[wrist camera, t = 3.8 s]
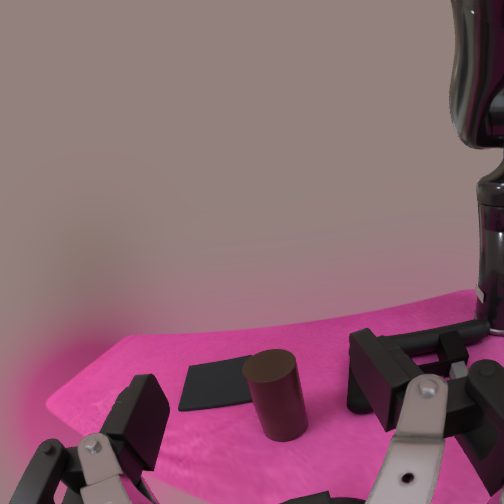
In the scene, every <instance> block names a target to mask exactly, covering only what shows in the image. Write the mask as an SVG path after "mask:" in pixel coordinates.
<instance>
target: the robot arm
mask: <svg viewBox="0 0 504 504" xmlns="http://www.w3.org/2000/svg"><path fill="white" fill-rule="evenodd" d="M451 3H452V10H453V18H454V28H455V55H454V64H453V71H452V77H451V84H450V93H449V94H450V96H449V104H450V114H451V119H452V123H453V127H454V129H455V131H456V134H457V135H458V137H459V138H460V140H461V141H462V142H463V143H464V144H465V145H466V146H468V147H470V148H475V149H503V160H502V162H501V164H500V165H499V166H498V167H497V168H496V169H495V170H494V171H493V172H491V173H490V174H488V175H486V176H484V177H482V178H481V179H479V180H478V182H477V185H476V191H477V200H478V212H479V229H480V230H479V231H480V262H479V282H478V286H477V285H476V292H475V293H476V295H477V303H476V310H475V315H474V319H484V318H487V319H488V321H489V324H490V334H493V335H500V336H504V0H451ZM349 343H350V358H351V368H352V372H353V375H354V377H355V379H356V381H357V383H358V384H359V386H360V388H361V389H362V391H363V393H364V395H365V396H366V398H367V400H368V402H369V403H370V405H371V407H372V409H373V410H374V412H375V414H376V416H377V417H378V419H379V421H380V423H381V425H382V426H383V428H384V430H385V432H388V431H391V430H393V429H396V431H395V434H394V435H393V437H392V439H391V442H390V445H389V448H388V450H387V453H386V456H385V459H384V461H383V464H382V466H381V469H380V471H379V474H378V476H377V478H376V481H375V483H374V485H373V487H372V490H371V492H370V494H369V496H368V498H367V500H362V499H357V498H348V497H336V498H330V494H329V491H325V492H321V493H317V494H313V495H309V496H304V497H300V498H295V499H290V500H288V501H285V502H283V503H280V504H431V501H432V497H433V494H434V491H435V487H436V483H437V479H438V475H439V471H440V467H441V462H442V458H443V452H444V447H445V438H447V437H451V436H454V437H455V438H456V440H457V441H458V443H459V444H460V446H461V447H462V449H463V451H464V452H465V454H466V455H467V457H468V459H469V460H470V462H471V464H472V465H473V467H474V468H475V470H476V472H477V474H478V475H479V477H480V479H481V480H482V482H483V484H484V486H485V487H486V489H487V491H488V493H489V495H490V496H491V498H490V499H489V501H488V503H487V504H504V368H503V367H502V366H501V365H500V364H499V363H497V362H496V361H493V360H489V359H483V360H479V361H477V362H475V363H473V364H472V365H471V367H470V368H469V371H468V375H467V376H464V377H461V378H457V379H453V380H449V381H445V379H443V378H442V377H440V376H438V375H435V374H425V373H424V372H423V371H422V370H421V369H420V368H419V367H418V366H417V365H416V364H415V362H414V361H413V360H412V359H411V358H410V357H409V356H408V355H407V354H405V352H404V351H403V350H402V349H401V348H400V347H399V346H398V344H397V343H396V342H395V341H394V340H392V339H390V338H388V337H385V336H383V335H382V336H379V337H376V336H375V335H374V334H373V333H372V331H371V330H370V329H369V328H365V329H362V330H359V331H356V332H353V333H350V335H349ZM169 413H170V407H169V402H168V400H167V398H166V396H165V394H164V392H163V391H162V389H161V387H160V385H159V383H158V381H157V379H156V377H155V376H154V375H153V374H143V375H135V376H134V378H133V380H132V381H131V383H130V385H129V387H126V388H125V389H124V390H123V391H122V392H121V393H120V394H119V396H118V397H117V399H116V401H115V404H114V405H113V407H112V411H110V413H109V414H108V416H107V418H106V420H105V422H104V424H103V426H102V428H101V430H100V432H99V433H93V434H90V435H88V436H86V437H84V438H83V439H82V440H81V441H80V443H79V445H78V446H77V447H69V448H65V447H64V446H63V444H62V443H61V442H60V441H59V440H57V439H48V440H46V441H44V442H42V443H41V444H40V445H39V447H38V449H37V450H36V452H35V454H34V456H33V458H32V459H31V461H30V463H29V465H28V467H27V468H26V470H25V472H24V474H23V476H22V478H21V480H20V482H19V484H18V486H17V488H16V490H15V492H14V494H13V496H12V498H11V500H10V503H9V504H55V502H54V498H53V497H54V494H55V491H56V489H57V486H58V484H59V482H60V480H61V481H62V482H63V483H64V484H65V485H66V486H67V487H68V488H67V491H66V493H65V496H64V499H63V502H62V504H159V502H158V501H157V499H156V498H155V496H154V494H153V493H152V491H151V490H150V488H149V486H148V485H147V483H146V481H145V479H144V478H143V477H142V476H141V474H142V470H145V471H154V468H155V464H156V461H157V457H158V453H159V449H160V446H161V442H162V438H163V435H164V431H165V428H166V424H167V421H168V417H169Z"/></svg>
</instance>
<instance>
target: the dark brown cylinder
mask: <svg viewBox="0 0 504 504" xmlns="http://www.w3.org/2000/svg"><path fill="white" fill-rule="evenodd" d="M242 371H243V375H244V378H245V381H246V384H247V387H248V389H249V392H250V395H251V398H252V401H253V403H254V406H255V409H256V412H257V414H258V417H259V420H260V422H261V425H262V428H263V430H264V433H265V435H266V436H267V437H268V438H270V439H271V440H274V441H278V442H286V441H291V440H294V439H296V438H298V437H299V436H301V435H302V434H303V433H304V432H305V430H306V429H307V426H308V419H307V414H306V408H305V403H304V398H303V393H302V388H301V383H300V378H299V373H298V368H297V363H296V358H295V356H294V355H293V354H292V353H291V352H289V351H286V350H282V349H271V350H266V351H262V352H260V353H257V354H255V355H253V356H252V357H250V358H249V359H248V360H247V361H246V362H245V364H244V365H243V369H242Z"/></svg>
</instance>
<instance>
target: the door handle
mask: <svg viewBox="0 0 504 504" xmlns="http://www.w3.org/2000/svg"><path fill="white" fill-rule="evenodd" d="M489 333H490V324H489V321H488V319H487V318H484V319H474V320H470V321H466V322H462V323H457V324H453V325H448V326H443V327H439V328H433V329H428V330H423V331H417V332H411V333H405V334H399V335H392V336H385V337H388V338H390V339H392V340H394V341H395V342H396V343H397V344H398V346H399V347H400V348H401V349H402V350H403V351H404V352H405V354H407V355H408V356H411V355H417V354H423V353H428V352H433V351H436V352H437V355H438V358H439V361H438V362H433V363H428V364H423V365H417V366H418V367H419V368H420V369H421V370H422V371H423V372H424V373H425V374H435V375H438V376H443V375H444V378H445V377H449V376H450V378H451V380H453V379H457V378H461V377H464V376H467V375H468V371H467V368H466V365H467V362H468V358H469V354H468V352H467V349H466V347H465V344H468V343H472V342H476V341H480V340H482V339H483V338H484V337H487V336H488V335H489ZM349 356H350V348H349ZM347 408H348V409H349V410H350V411H352V412H354V413H358V414H365V413H369V412H372V411H374V410H373V409H372V407H371V405H370V403H369V402H368V400H367V398H366V396H365V395H364V393H363V391H362V389H361V388H360V386H359V384H358V383H357V381H356V379H355V377H354V375H353V372H352V368H351V358H350V364H349V381H348V394H347Z"/></svg>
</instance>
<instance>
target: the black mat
mask: <svg viewBox="0 0 504 504" xmlns="http://www.w3.org/2000/svg"><path fill="white" fill-rule="evenodd" d="M250 357H252V355H248V356H244V357H239V358H234V359H228V360H223V361H217V362H212V363H206V364H199V365H193V366H189V369H188V373H187V377H186V380H185V384H184V388H183V392H182V396H181V400H180V403H179V407H178V410H179V411H190V410H200V409H209V408H217V407H224V406H231V405H237V404H243V403H249V402H253V401H252V398H251V395H250V392H249V389H248V387H247V384H246V381H245V378H244V375H243V371H242V369H243V365H244V364H245V362H246V361H247V360H248V359H249V358H250Z"/></svg>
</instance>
